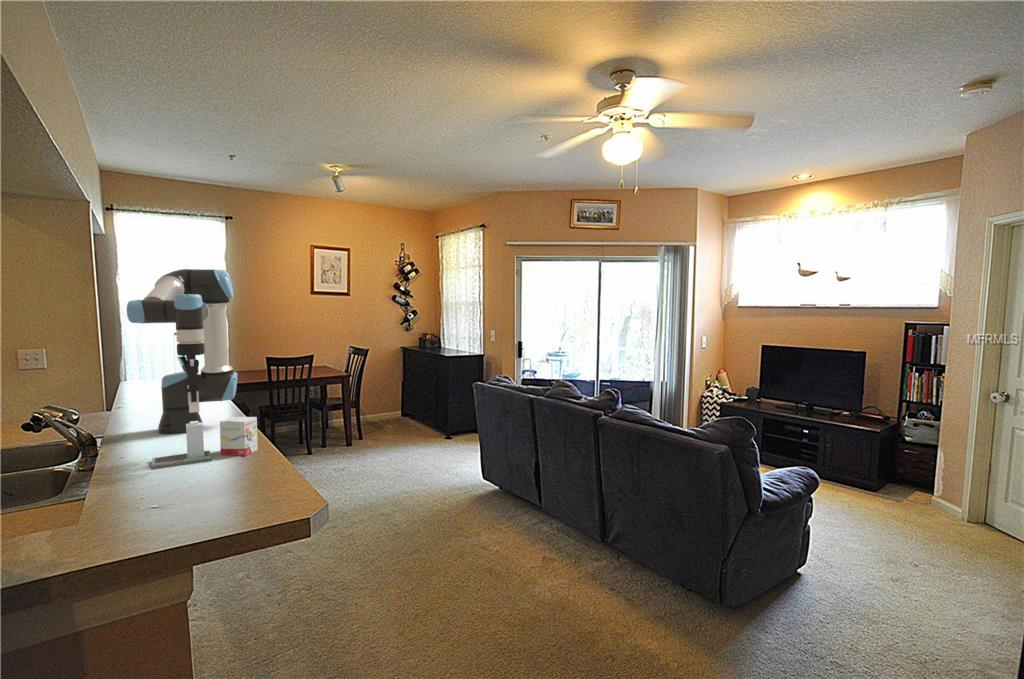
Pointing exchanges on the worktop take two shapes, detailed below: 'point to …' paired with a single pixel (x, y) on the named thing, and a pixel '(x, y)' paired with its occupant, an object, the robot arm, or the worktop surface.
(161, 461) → the panel
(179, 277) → the robot arm
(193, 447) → the plug
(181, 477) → the worktop surface
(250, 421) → the ink box
